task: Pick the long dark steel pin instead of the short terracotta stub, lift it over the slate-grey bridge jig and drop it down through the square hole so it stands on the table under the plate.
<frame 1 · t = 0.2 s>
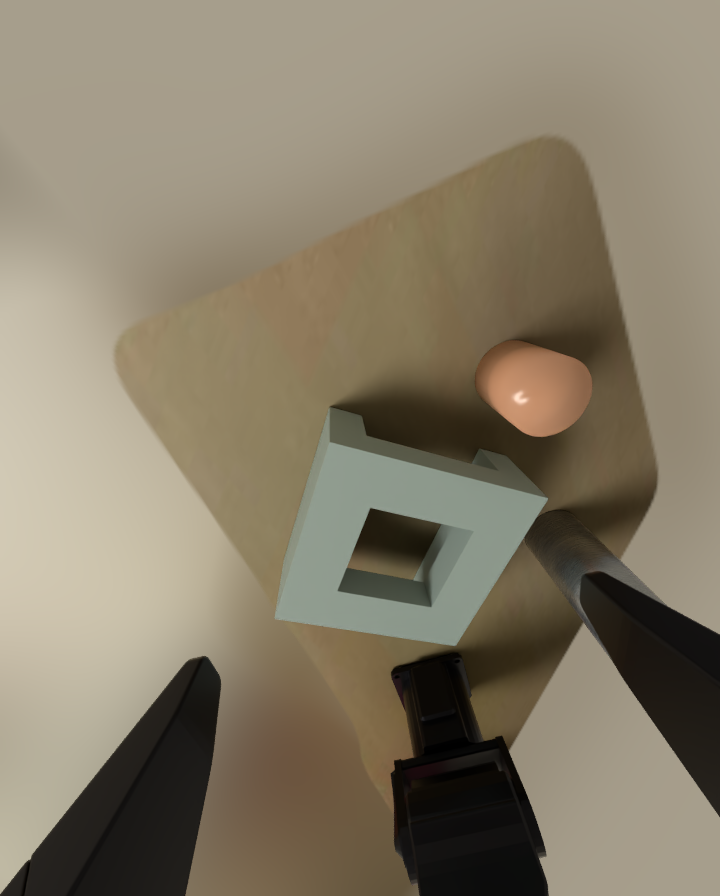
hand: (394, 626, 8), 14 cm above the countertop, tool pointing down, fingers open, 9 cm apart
slate pin jig: (390, 509, 24), on the countertop
terracotta stub: (508, 375, 21), on the countertop
steel pin: (551, 532, 27), on the countertop
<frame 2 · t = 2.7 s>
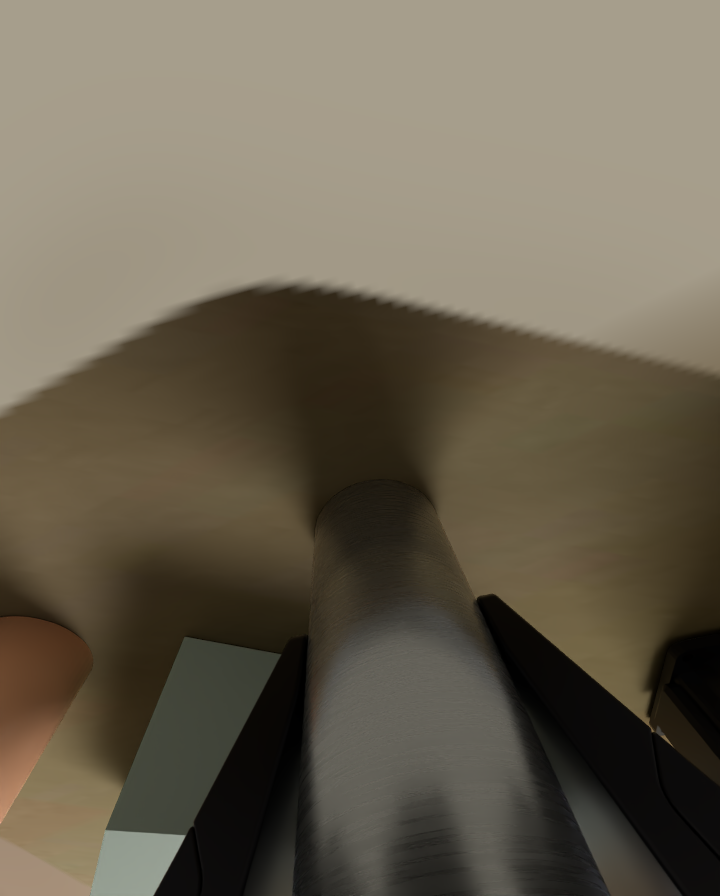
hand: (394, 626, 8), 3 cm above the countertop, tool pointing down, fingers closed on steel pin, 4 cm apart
slate pin jig: (294, 747, 16), on the countertop
terracotta stub: (31, 655, 13), on the countertop
steel pin: (377, 533, 12), on the countertop, touching gripper
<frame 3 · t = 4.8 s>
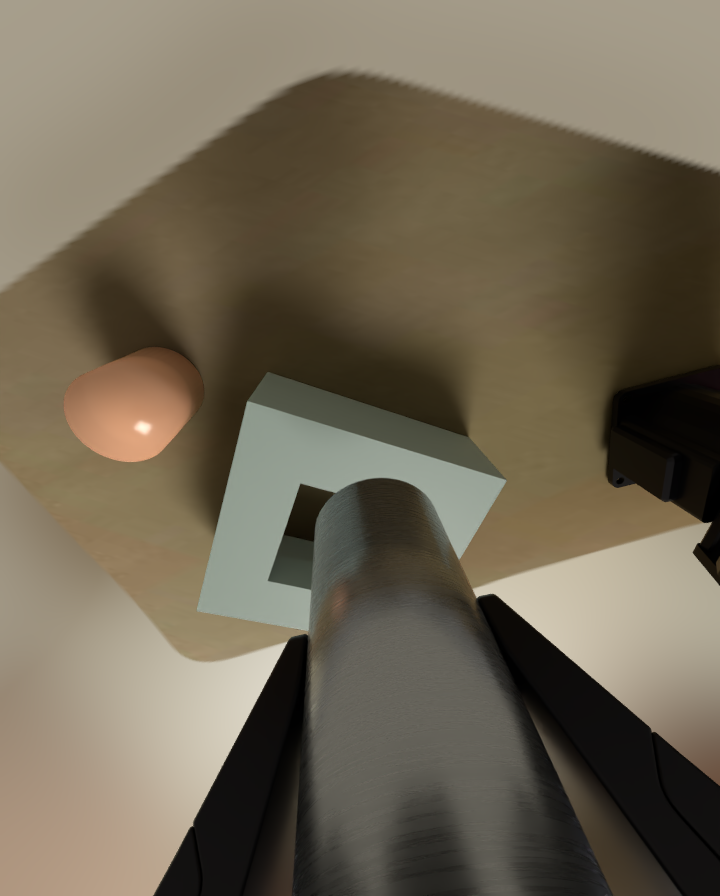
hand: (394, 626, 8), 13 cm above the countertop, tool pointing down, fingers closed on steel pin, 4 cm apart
slate pin jig: (340, 494, 22), on the countertop
terracotta stub: (163, 386, 18), on the countertop
steel pin: (377, 531, 11), point 10 cm above the countertop, touching gripper
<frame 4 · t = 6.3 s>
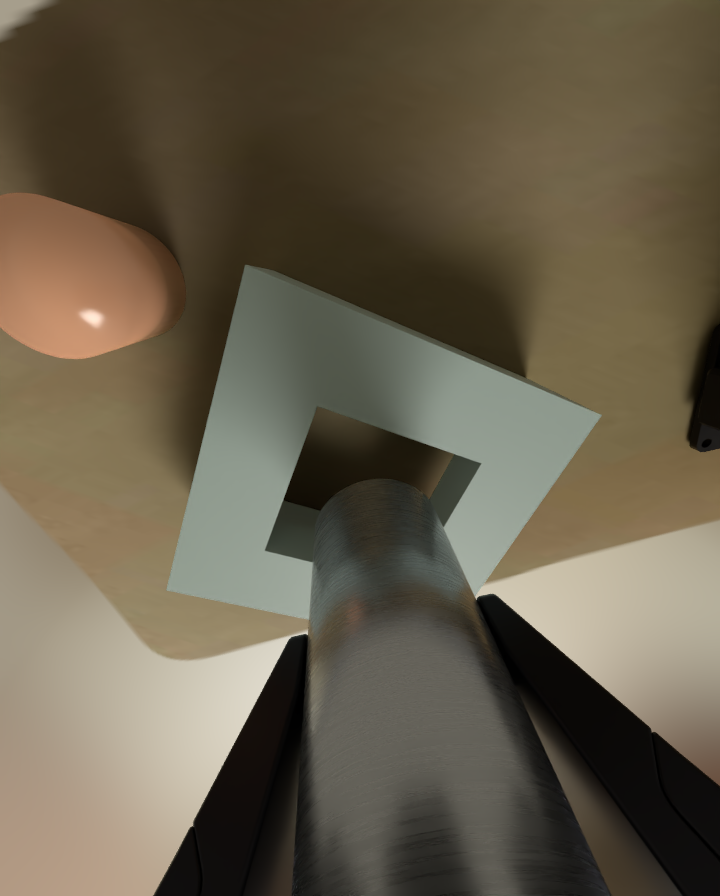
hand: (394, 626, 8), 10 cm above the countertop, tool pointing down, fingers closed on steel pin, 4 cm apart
slate pin jig: (358, 449, 17), on the countertop
terracotta stub: (130, 283, 14), on the countertop
steel pin: (376, 532, 11), point 6 cm above the countertop, touching gripper
when the fingers open (6 cm above the countertop, at t = 7.4 s): steel pin drops 3 cm, on the countertop.
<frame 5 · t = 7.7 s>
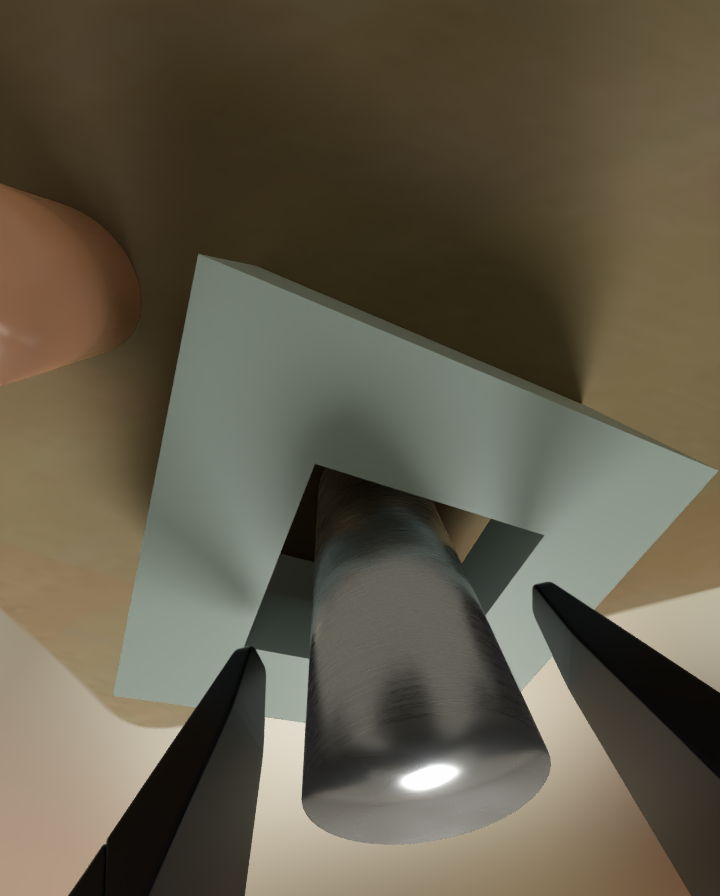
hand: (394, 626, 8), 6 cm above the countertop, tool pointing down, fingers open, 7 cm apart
slate pin jig: (368, 491, 14), on the countertop
terracotta stub: (64, 284, 10), on the countertop
steel pin: (370, 489, 14), on the countertop
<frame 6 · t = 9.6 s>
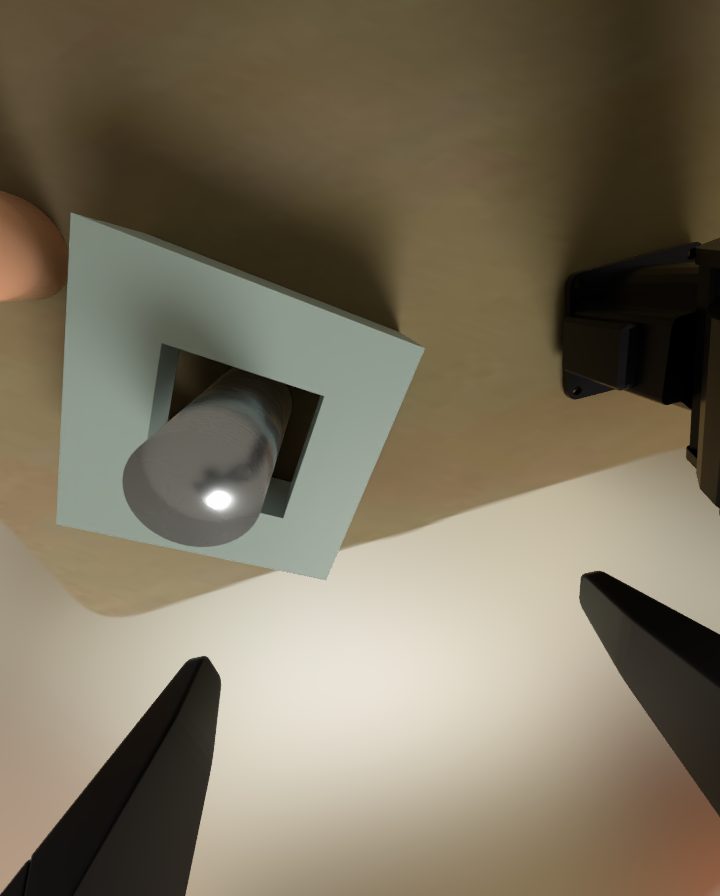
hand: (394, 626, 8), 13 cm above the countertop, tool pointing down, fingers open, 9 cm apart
slate pin jig: (252, 403, 19), on the countertop
terracotta stub: (16, 248, 15), on the countertop
steel pin: (253, 402, 19), on the countertop
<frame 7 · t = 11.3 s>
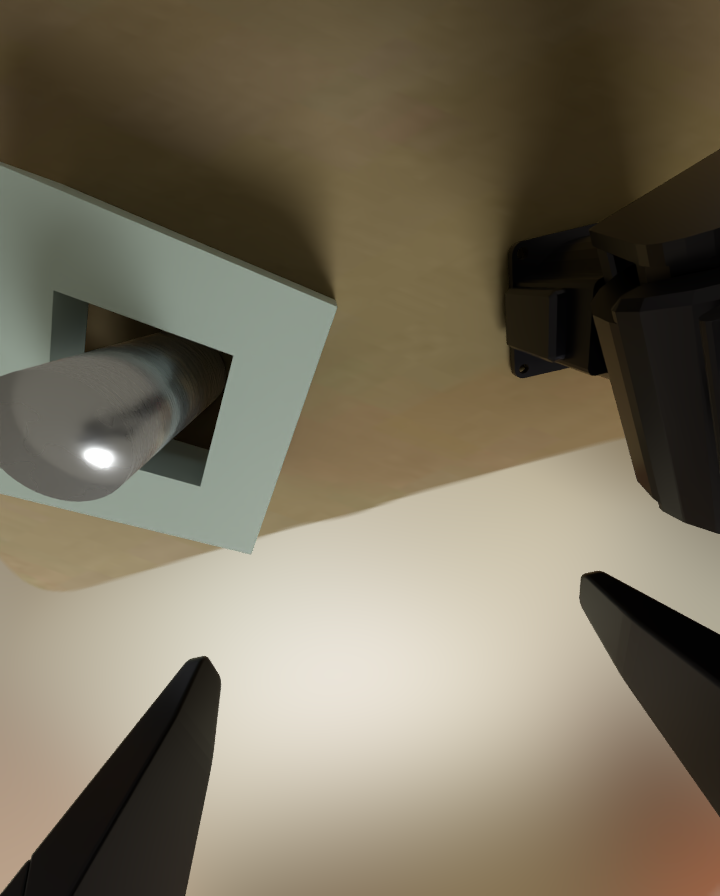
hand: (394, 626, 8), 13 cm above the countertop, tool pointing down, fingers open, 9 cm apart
slate pin jig: (184, 371, 18), on the countertop
steel pin: (185, 370, 18), on the countertop
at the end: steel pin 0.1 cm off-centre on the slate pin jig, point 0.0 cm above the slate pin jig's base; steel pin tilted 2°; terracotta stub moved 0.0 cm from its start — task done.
